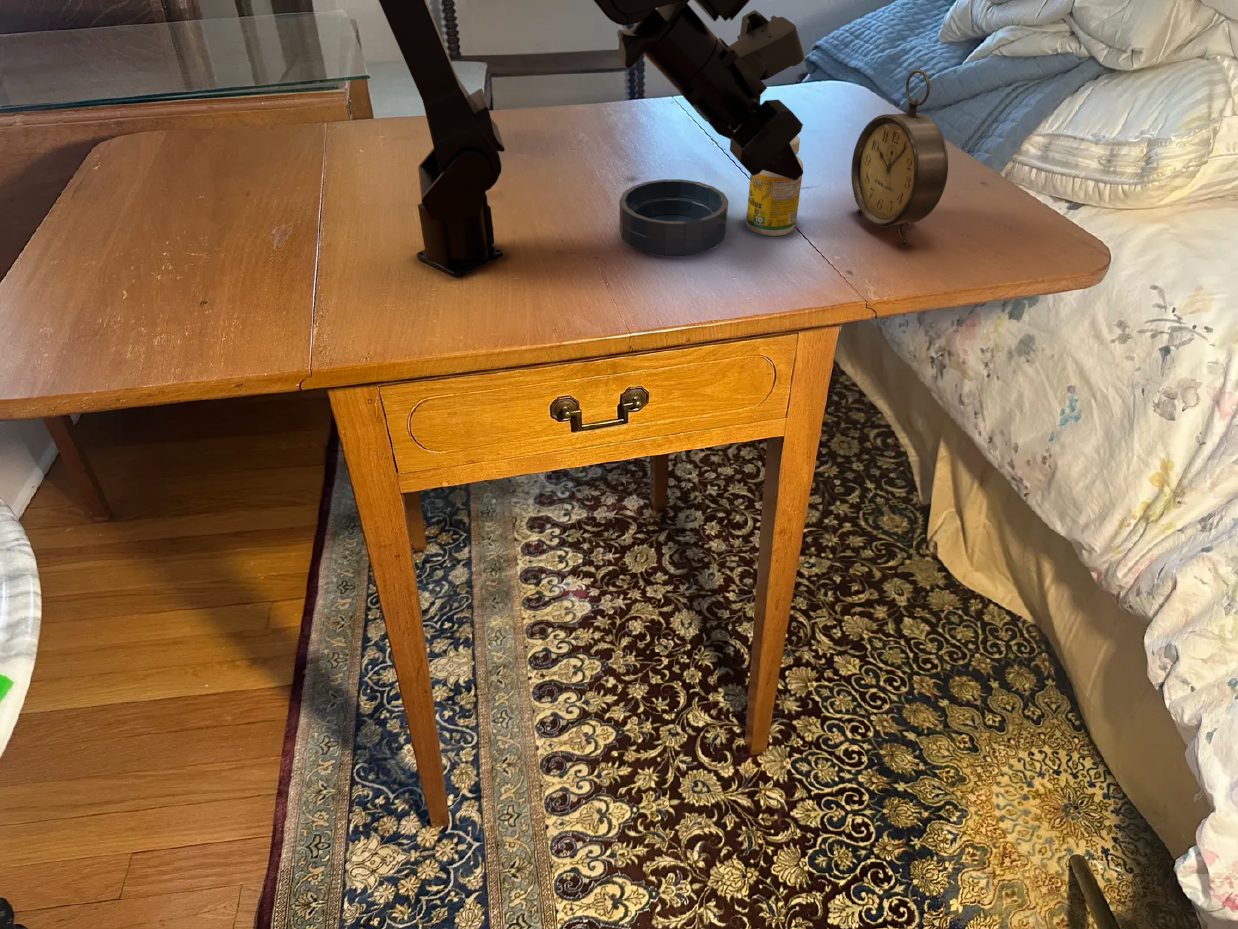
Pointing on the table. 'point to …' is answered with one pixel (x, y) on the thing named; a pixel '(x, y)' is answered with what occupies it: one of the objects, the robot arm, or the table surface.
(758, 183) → the supplement bottle
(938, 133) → the alarm clock
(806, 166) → the table surface
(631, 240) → the dark gray round dish
